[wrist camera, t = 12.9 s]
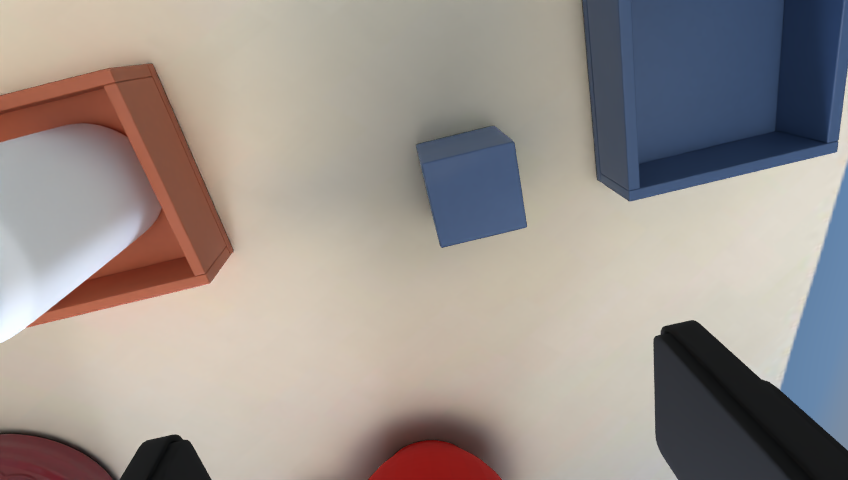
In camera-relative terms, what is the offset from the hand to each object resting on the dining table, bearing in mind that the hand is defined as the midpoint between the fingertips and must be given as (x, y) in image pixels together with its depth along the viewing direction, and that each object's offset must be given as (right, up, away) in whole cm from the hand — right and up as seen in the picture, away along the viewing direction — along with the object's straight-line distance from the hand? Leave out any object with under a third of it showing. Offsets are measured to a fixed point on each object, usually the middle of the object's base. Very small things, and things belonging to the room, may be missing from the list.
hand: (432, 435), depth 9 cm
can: (-17, +7, +16) cm, 25 cm away
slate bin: (+14, +13, +16) cm, 25 cm away
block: (+2, +8, +18) cm, 20 cm away
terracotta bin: (-18, +7, +17) cm, 25 cm away
